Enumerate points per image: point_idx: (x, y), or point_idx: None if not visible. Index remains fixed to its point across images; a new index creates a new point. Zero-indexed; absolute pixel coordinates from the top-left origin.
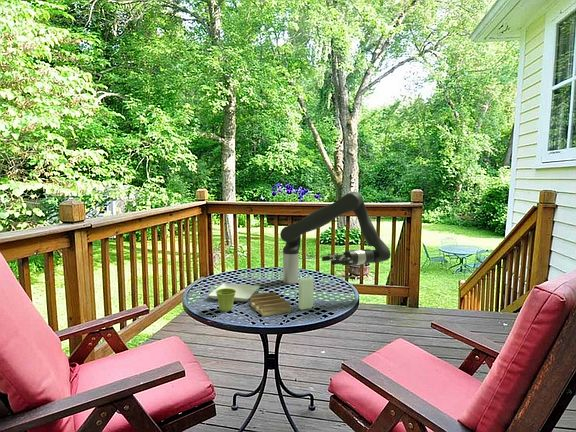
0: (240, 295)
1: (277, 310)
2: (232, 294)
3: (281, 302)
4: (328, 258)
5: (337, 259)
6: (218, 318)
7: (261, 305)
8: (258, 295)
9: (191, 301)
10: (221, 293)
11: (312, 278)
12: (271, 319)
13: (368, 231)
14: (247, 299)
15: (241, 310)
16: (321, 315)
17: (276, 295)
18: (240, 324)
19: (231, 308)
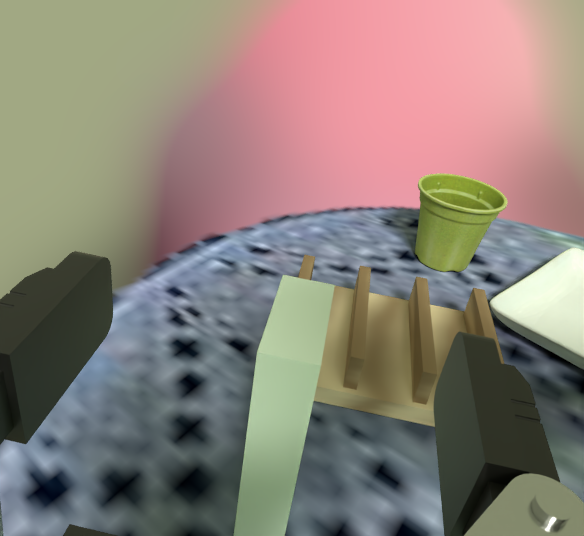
0: None
1: None
2: (422, 193)
3: (348, 356)
4: (458, 488)
5: (10, 339)
6: (363, 221)
7: (356, 285)
8: (477, 313)
9: (564, 239)
10: (489, 209)
11: (278, 353)
12: (243, 293)
13: None
14: (491, 308)
15: (404, 279)
16: (76, 476)
17: (432, 357)
18: (274, 228)
19: (421, 255)
